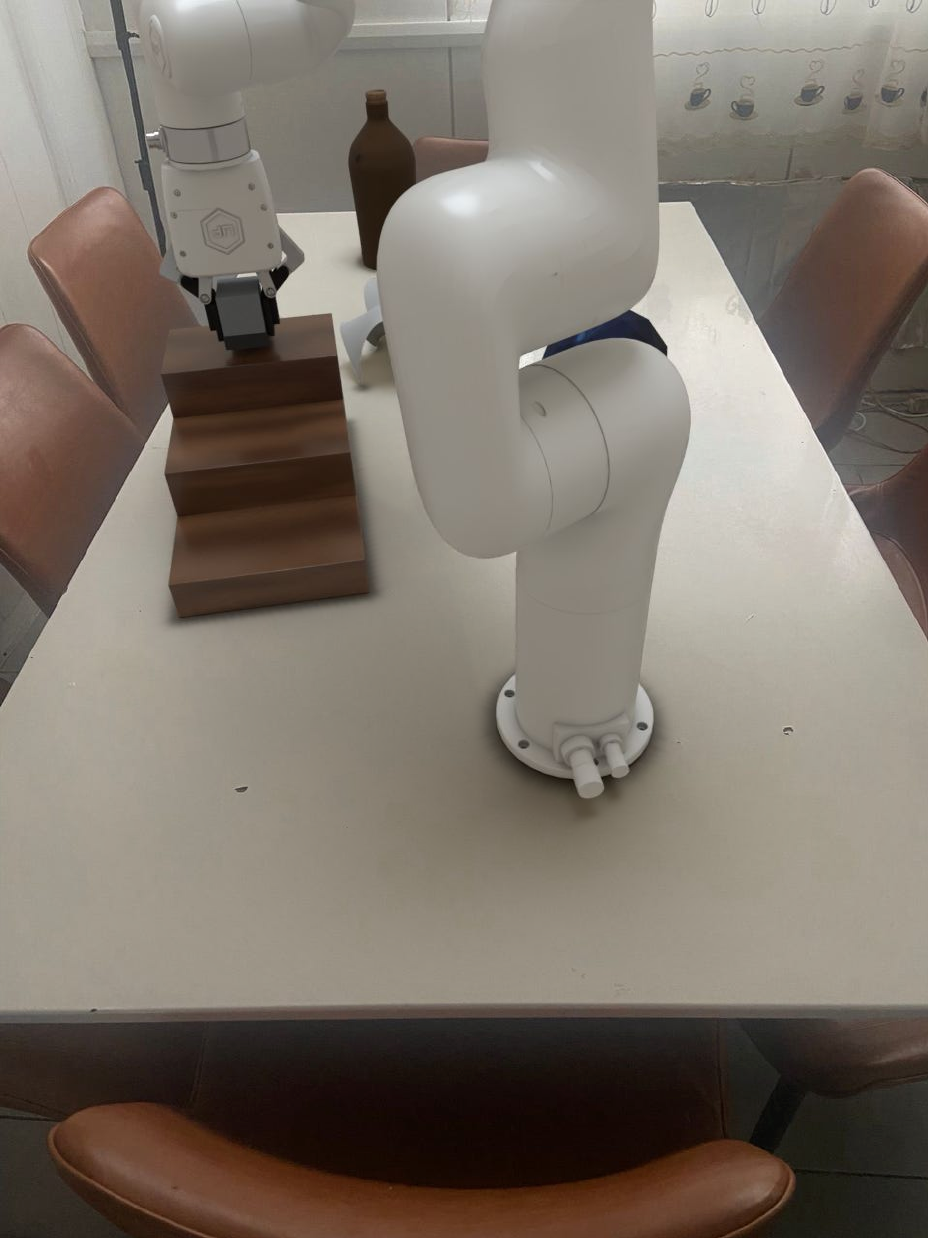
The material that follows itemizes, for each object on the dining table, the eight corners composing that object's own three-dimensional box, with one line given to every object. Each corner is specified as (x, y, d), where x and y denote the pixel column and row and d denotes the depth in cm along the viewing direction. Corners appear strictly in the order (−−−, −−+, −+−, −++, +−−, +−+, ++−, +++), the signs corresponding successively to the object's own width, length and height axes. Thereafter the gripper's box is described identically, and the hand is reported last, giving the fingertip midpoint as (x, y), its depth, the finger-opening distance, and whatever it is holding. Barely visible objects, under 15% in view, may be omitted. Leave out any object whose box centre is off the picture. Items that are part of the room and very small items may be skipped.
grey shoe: (269, 346, 92) (259, 293, 88) (226, 350, 91) (214, 298, 88) (269, 315, 98) (259, 264, 94) (228, 319, 97) (217, 268, 94)
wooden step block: (369, 592, 85) (352, 467, 76) (178, 617, 84) (136, 493, 74) (347, 423, 110) (331, 312, 100) (199, 440, 108) (169, 329, 99)
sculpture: (374, 309, 135) (367, 243, 129) (498, 311, 133) (497, 244, 126) (335, 386, 117) (325, 314, 110) (478, 390, 115) (476, 317, 108)
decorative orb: (519, 420, 98) (610, 311, 90) (511, 359, 109) (591, 257, 101) (616, 482, 104) (709, 385, 96) (599, 418, 115) (681, 325, 107)
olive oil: (414, 272, 145) (401, 99, 129) (351, 270, 147) (331, 99, 130) (428, 249, 153) (417, 83, 136) (368, 247, 155) (351, 83, 138)
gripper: (107, 160, 77) (162, 357, 90) (301, 144, 79) (329, 340, 91) (117, 138, 83) (168, 327, 95) (299, 123, 85) (326, 311, 97)
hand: (246, 331), depth 93 cm, fingers closed on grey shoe, 4 cm apart
